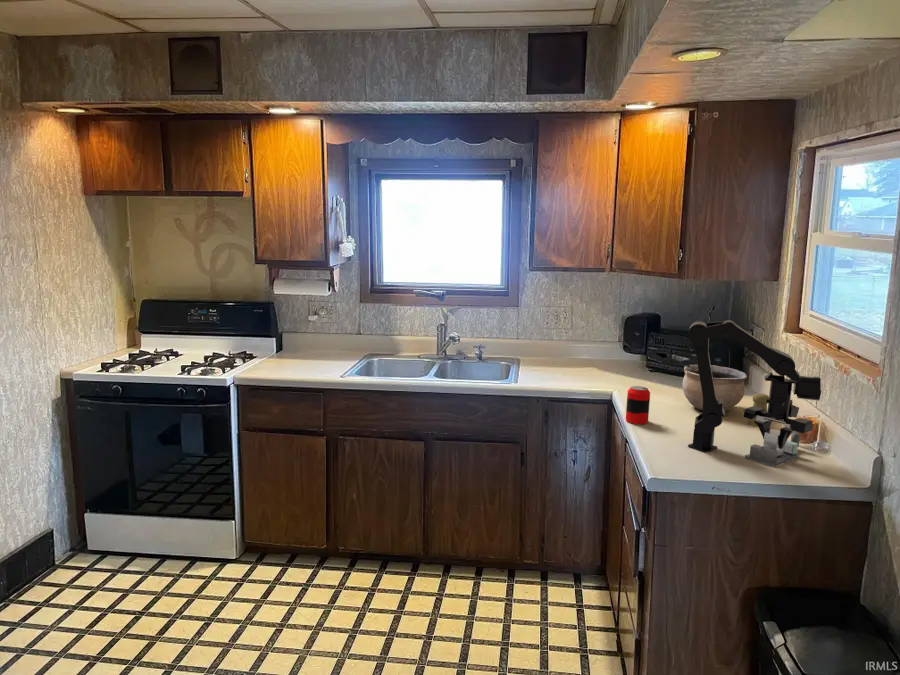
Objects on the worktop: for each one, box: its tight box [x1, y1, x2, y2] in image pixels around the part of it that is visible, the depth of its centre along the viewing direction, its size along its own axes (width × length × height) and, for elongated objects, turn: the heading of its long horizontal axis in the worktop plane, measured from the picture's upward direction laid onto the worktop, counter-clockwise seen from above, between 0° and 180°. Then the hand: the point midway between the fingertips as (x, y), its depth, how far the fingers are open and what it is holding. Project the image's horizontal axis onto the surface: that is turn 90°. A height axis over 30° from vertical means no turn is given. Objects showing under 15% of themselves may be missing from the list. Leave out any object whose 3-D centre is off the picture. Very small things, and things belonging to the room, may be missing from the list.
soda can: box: [625, 385, 651, 425], centre depth 237 cm, size 8×8×12 cm
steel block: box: [762, 428, 785, 456], centre depth 204 cm, size 5×4×6 cm
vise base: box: [744, 444, 801, 468], centre depth 204 cm, size 15×9×4 cm, turn 127°
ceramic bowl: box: [682, 364, 748, 412], centre depth 253 cm, size 22×22×15 cm
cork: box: [748, 392, 769, 428], centre depth 236 cm, size 6×6×11 cm
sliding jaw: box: [784, 431, 801, 454], centre depth 210 cm, size 9×7×4 cm
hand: (774, 446), depth 204 cm, fingers closed on steel block, 4 cm apart
